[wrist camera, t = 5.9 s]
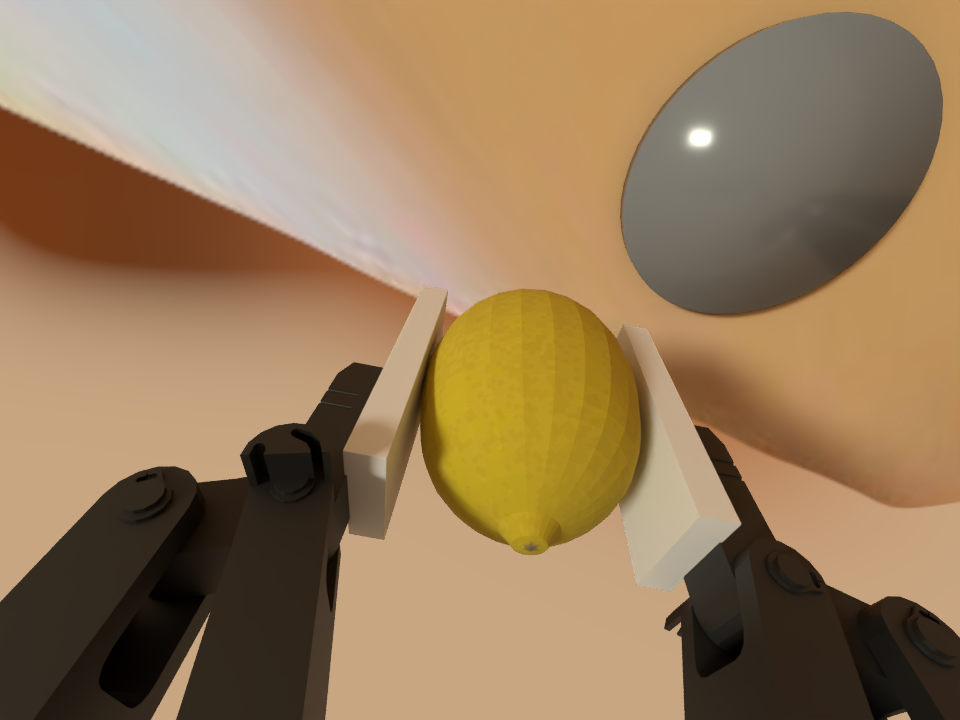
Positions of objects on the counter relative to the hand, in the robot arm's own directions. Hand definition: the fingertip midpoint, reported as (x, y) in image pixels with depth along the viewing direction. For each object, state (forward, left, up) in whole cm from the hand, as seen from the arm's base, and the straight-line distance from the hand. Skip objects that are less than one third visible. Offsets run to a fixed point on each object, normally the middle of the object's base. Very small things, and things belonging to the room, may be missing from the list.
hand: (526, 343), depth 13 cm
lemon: (0, 0, -1) cm, 1 cm away
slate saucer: (-12, -4, -13) cm, 18 cm away
